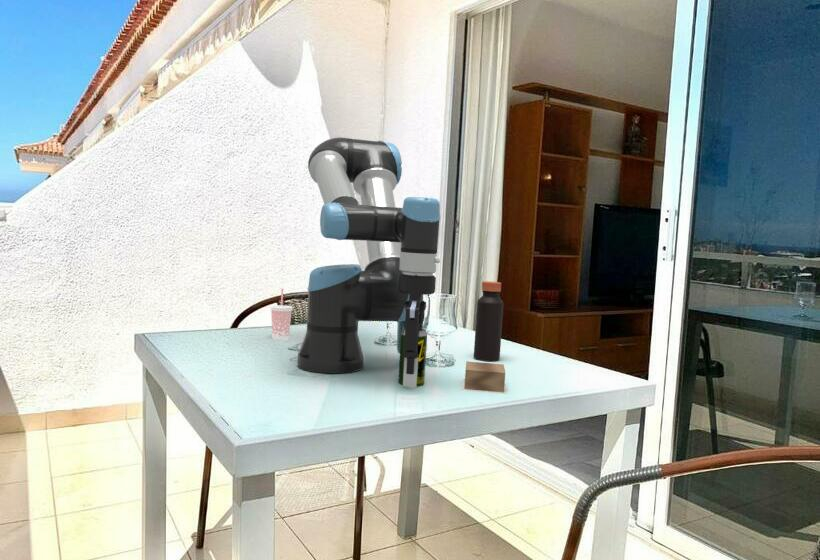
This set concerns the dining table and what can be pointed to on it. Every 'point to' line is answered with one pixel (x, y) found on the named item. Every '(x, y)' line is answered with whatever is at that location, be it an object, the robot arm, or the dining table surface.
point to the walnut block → (484, 376)
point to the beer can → (421, 357)
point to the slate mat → (481, 390)
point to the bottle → (489, 323)
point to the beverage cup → (281, 320)
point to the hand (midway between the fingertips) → (411, 385)
